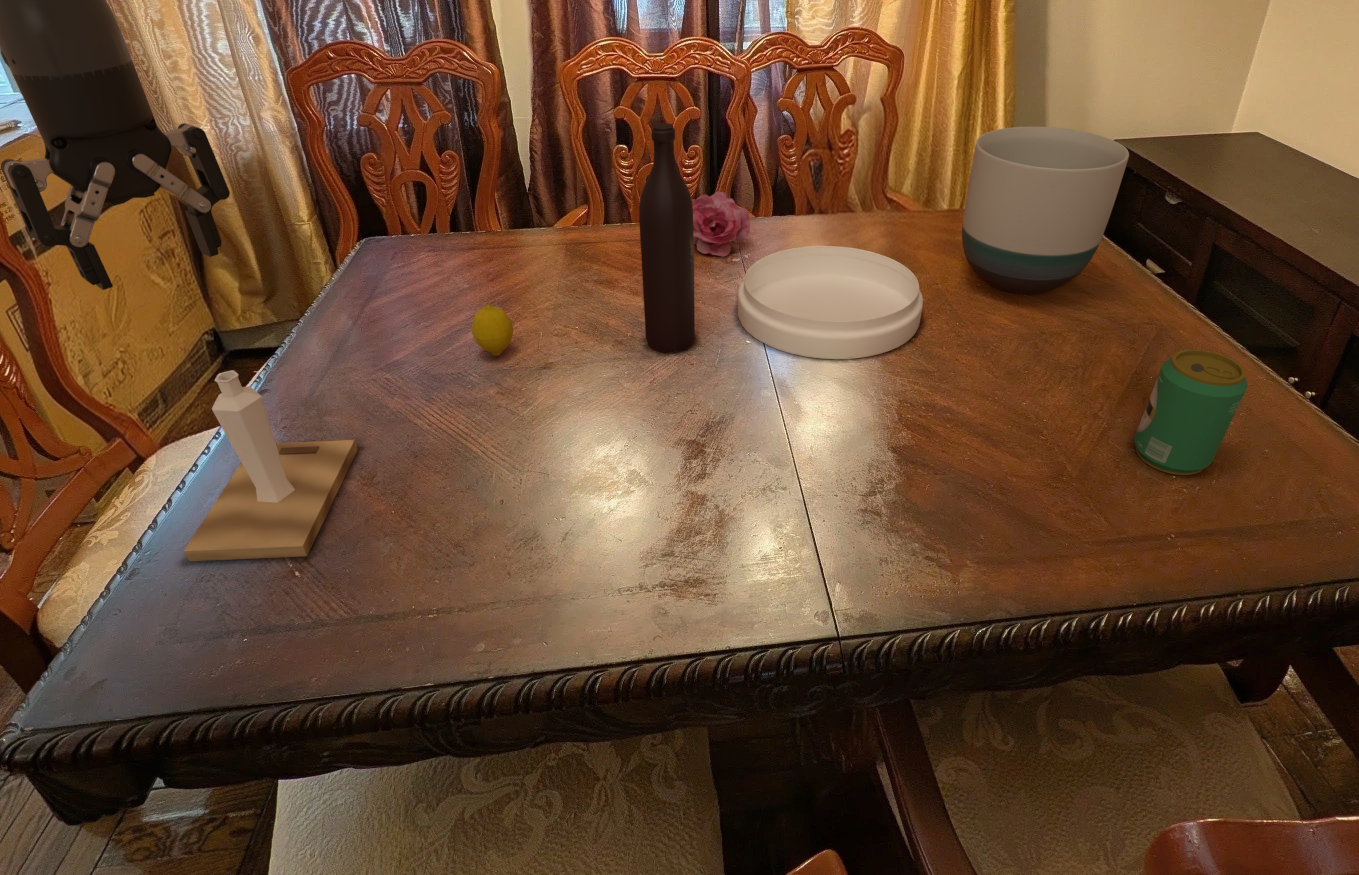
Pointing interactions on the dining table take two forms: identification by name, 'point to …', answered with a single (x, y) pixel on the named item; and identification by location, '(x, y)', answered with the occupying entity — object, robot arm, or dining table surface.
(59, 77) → the robot arm
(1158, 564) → the dining table surface
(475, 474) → the dining table surface
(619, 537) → the dining table surface
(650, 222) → the wine bottle
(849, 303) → the plate
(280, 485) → the perfume bottle
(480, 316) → the fruit
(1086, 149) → the planter
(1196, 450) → the beverage can
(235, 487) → the serving board
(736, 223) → the flower
